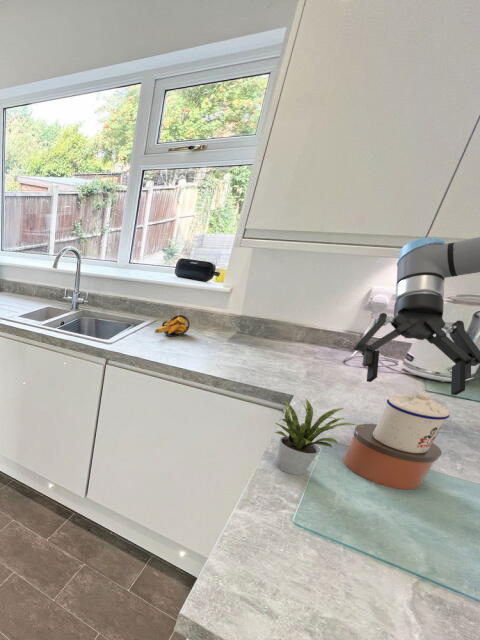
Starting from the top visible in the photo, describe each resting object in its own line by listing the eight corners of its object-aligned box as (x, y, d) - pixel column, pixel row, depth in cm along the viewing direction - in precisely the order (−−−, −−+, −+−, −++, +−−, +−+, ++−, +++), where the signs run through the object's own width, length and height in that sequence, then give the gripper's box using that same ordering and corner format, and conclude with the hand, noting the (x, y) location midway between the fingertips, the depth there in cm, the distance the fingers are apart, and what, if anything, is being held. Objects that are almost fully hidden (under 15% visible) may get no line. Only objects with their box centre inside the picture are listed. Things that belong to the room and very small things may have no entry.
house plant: (342, 470, 93) (372, 405, 86) (332, 498, 84) (365, 429, 77) (267, 444, 102) (289, 384, 95) (252, 468, 93) (275, 404, 86)
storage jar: (410, 463, 95) (427, 433, 92) (434, 498, 84) (454, 465, 81) (335, 447, 101) (348, 418, 98) (348, 477, 90) (364, 446, 87)
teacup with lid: (425, 460, 82) (454, 408, 77) (366, 440, 89) (389, 392, 84) (434, 439, 89) (461, 391, 84) (378, 423, 95) (400, 377, 91)
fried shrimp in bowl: (198, 324, 179) (183, 318, 166) (180, 344, 184) (164, 340, 171) (182, 312, 184) (166, 305, 171) (164, 332, 189) (147, 327, 177)
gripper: (484, 317, 91) (483, 404, 86) (341, 303, 102) (332, 380, 97) (511, 298, 85) (512, 391, 79) (355, 286, 96) (346, 367, 90)
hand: (413, 385), depth 88 cm, fingers open, 13 cm apart
